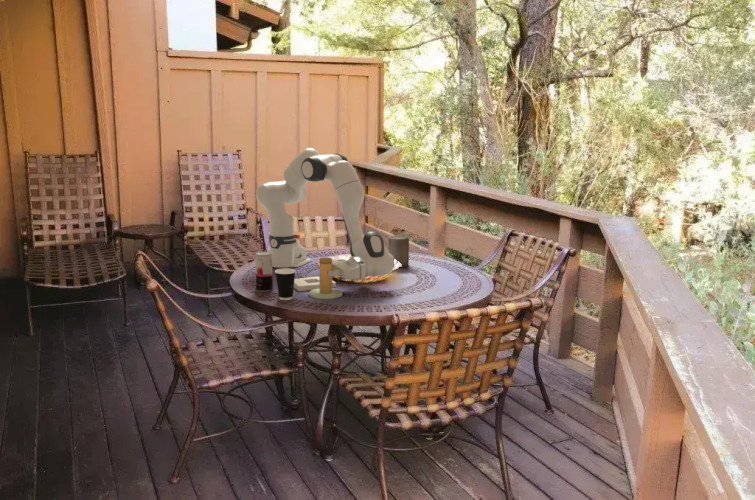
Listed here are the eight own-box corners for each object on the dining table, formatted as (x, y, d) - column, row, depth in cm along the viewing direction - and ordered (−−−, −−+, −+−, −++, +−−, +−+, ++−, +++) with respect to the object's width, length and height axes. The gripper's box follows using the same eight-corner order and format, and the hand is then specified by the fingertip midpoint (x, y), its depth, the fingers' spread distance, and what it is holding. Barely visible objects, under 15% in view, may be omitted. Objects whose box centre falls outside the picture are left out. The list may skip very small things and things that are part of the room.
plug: (329, 290, 266) (329, 257, 263) (334, 293, 262) (334, 259, 259) (317, 291, 264) (317, 258, 261) (322, 294, 260) (322, 260, 257)
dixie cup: (297, 300, 255) (297, 272, 252) (276, 302, 253) (276, 273, 250) (294, 295, 262) (294, 267, 260) (274, 296, 260) (273, 268, 258)
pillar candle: (410, 264, 318) (411, 232, 315) (406, 268, 308) (406, 236, 305) (390, 262, 320) (391, 231, 317) (385, 267, 311) (385, 235, 308)
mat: (322, 288, 272) (322, 286, 272) (348, 293, 265) (348, 291, 265) (302, 295, 261) (302, 293, 261) (329, 301, 255) (329, 298, 254)
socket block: (318, 276, 292) (318, 271, 292) (335, 287, 275) (335, 282, 274) (283, 279, 285) (283, 274, 285) (298, 291, 268) (298, 286, 267)
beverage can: (260, 292, 265) (259, 255, 262) (253, 289, 270) (252, 252, 267) (275, 290, 268) (274, 253, 265) (268, 286, 274) (267, 250, 271)
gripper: (346, 254, 275) (314, 256, 269) (366, 265, 257) (333, 268, 251) (345, 269, 276) (314, 272, 271) (366, 280, 258) (333, 284, 253)
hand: (323, 270), depth 261 cm, fingers open, 8 cm apart
